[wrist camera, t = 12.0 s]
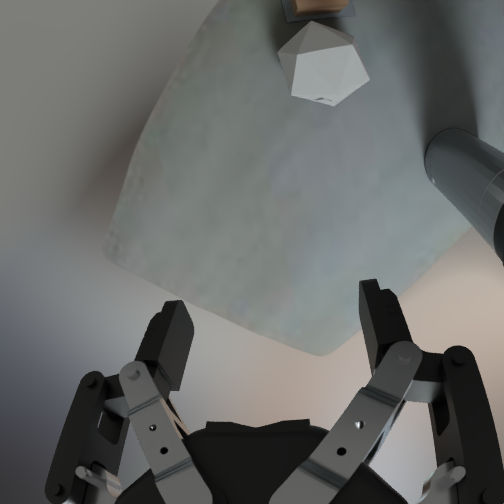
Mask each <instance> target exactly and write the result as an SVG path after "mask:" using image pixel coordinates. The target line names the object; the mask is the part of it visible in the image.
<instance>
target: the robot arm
mask: <svg viewBox="0 0 504 504" xmlns="http://www.w3.org/2000/svg"><path fill="white" fill-rule="evenodd" d="M425 168H426V172H427V176H428V177H429V179H430V181H431V182H432V183H433V184H434V186H435V187H436V188H437V189H438V190H439V191H440V192H441V193H442V194H443V195H444V196H445V197H446V198H447V199H448V200H449V201H450V202H451V203H452V204H453V205H454V206H455V207H456V208H457V209H458V210H459V211H460V212H461V213H462V215H463V216H464V217H465V218H466V219H467V220H468V221H469V222H470V223H471V225H472V226H473V227H474V228H475V229H476V230H477V231H478V232H479V234H480V235H481V236H482V237H483V238H484V239H485V241H486V242H487V243H488V244H489V245H490V246H491V248H492V249H493V250H494V251H495V253H496V254H497V255H498V257H499V258H500V259H501V260H502V262H503V266H504V153H503V152H501V151H499V150H498V149H496V148H494V147H493V146H491V145H489V144H487V143H486V142H484V141H482V140H480V139H479V138H477V137H475V136H473V135H471V134H469V133H467V132H465V131H463V130H461V129H457V128H450V129H447V130H444V131H442V132H440V133H439V134H438V135H436V136H435V137H434V139H433V140H432V141H431V143H430V145H429V147H428V149H427V152H426V156H425ZM359 315H360V321H361V326H362V330H363V334H364V339H365V344H366V348H367V352H368V358H369V363H370V368H371V373H372V378H371V379H370V381H369V383H368V384H367V385H366V387H362V388H361V389H360V390H359V391H358V393H357V394H356V395H355V397H354V398H353V400H352V401H351V403H350V404H349V406H348V407H347V409H346V410H345V411H344V413H343V414H342V415H341V417H340V418H339V419H338V421H337V422H336V423H335V425H334V426H333V428H332V429H331V430H330V431H328V430H326V429H324V428H321V427H317V426H311V425H310V419H303V420H288V421H280V422H277V423H273V424H269V425H265V426H262V427H256V428H255V427H250V426H245V425H241V424H237V423H233V422H209V421H208V422H207V423H206V428H204V429H201V430H198V431H195V432H193V433H190V432H189V430H188V429H187V427H186V426H185V424H184V422H183V421H182V419H181V417H180V416H179V414H178V412H177V410H176V408H175V406H174V404H173V403H172V401H171V399H170V398H169V393H170V391H179V389H180V385H181V381H182V377H183V373H184V370H185V366H186V362H187V358H188V355H189V351H190V347H191V343H192V340H193V336H194V326H193V322H192V320H191V318H190V315H189V313H188V311H187V309H186V307H185V305H184V302H183V301H182V300H175V301H166V302H165V304H164V306H163V308H162V311H161V312H159V313H156V315H155V316H154V317H153V318H152V319H151V320H150V323H149V325H148V327H147V331H146V332H145V335H144V338H143V340H142V342H141V345H140V347H139V350H138V352H137V355H136V358H135V360H134V361H133V362H130V363H128V364H127V365H125V366H124V367H123V368H122V369H121V371H120V374H117V375H113V376H109V377H104V376H103V374H101V372H98V371H92V372H89V373H88V374H86V375H85V376H84V377H83V378H82V380H81V381H80V384H79V386H78V389H77V392H76V394H75V397H74V400H73V402H72V405H71V407H70V410H69V413H68V416H67V418H66V421H65V424H64V427H63V430H62V433H61V436H60V439H59V442H58V445H57V448H56V451H55V455H54V458H53V461H52V464H51V467H50V471H49V474H48V478H47V482H46V485H45V494H46V497H47V499H48V500H49V501H50V502H51V503H52V504H408V502H407V501H406V500H405V499H404V498H403V497H402V496H401V495H400V494H399V493H397V491H395V490H394V489H393V488H392V487H391V486H390V485H389V484H388V483H386V482H385V481H384V480H383V479H382V478H381V477H380V476H379V475H378V474H377V473H376V472H375V471H374V470H372V469H371V468H370V467H369V464H370V463H371V461H372V460H373V458H374V457H375V455H376V454H377V452H378V451H379V449H380V447H381V446H382V444H383V442H384V441H385V439H386V437H387V435H388V433H389V431H390V430H391V428H392V426H393V425H394V423H395V421H396V419H397V418H398V416H399V414H400V412H401V411H402V409H403V407H404V405H405V403H406V401H413V402H423V403H428V407H429V413H430V419H431V425H432V431H433V438H434V445H435V453H436V461H437V469H436V470H435V471H434V472H433V473H432V474H431V475H430V476H429V477H428V478H427V479H426V480H425V482H424V485H423V491H422V496H421V498H420V500H419V501H418V502H417V503H416V504H503V503H504V469H503V464H502V458H501V452H500V447H499V442H498V438H497V433H496V429H495V425H494V421H493V416H492V413H491V409H490V405H489V402H488V398H487V395H486V391H485V388H484V385H483V382H482V378H481V375H480V372H479V369H478V366H477V363H476V360H475V357H474V355H473V353H472V352H471V351H470V350H469V349H468V348H466V347H463V346H452V347H450V348H448V349H447V350H446V351H445V352H444V354H440V353H429V352H425V351H423V350H421V349H420V348H419V347H418V346H417V345H416V344H414V343H413V340H412V338H411V335H410V332H409V329H408V326H407V323H406V321H405V318H404V315H403V313H402V310H401V307H400V304H399V302H398V299H397V296H396V295H395V294H394V293H393V292H392V291H391V290H390V289H383V290H380V287H379V284H378V282H377V279H369V280H362V281H360V282H359ZM101 412H102V413H103V414H102V418H101V421H100V424H99V428H97V426H98V422H99V419H100V416H101ZM130 422H131V424H132V427H133V429H134V431H135V434H136V436H137V439H138V440H139V443H140V446H141V448H142V450H143V452H144V455H145V457H146V459H147V461H148V463H149V465H150V469H149V470H148V471H147V472H145V473H144V474H143V475H142V476H141V477H140V478H139V479H137V480H136V481H135V482H134V483H133V484H131V485H130V486H129V487H128V488H127V489H125V490H124V491H123V490H122V489H121V483H120V481H119V479H118V478H117V474H118V469H119V465H120V461H121V456H122V452H123V448H124V444H125V439H126V435H127V431H128V427H129V423H130Z"/></svg>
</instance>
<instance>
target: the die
mask: <svg viewBox="0 0 504 504" xmlns="http://www.w3.org/2000/svg"><path fill="white" fill-rule="evenodd" d="M277 53H278V56H279V59H280V62H281V65H282V68H283V71H284V75H285V78H286V81H287V84H288V87H289V90H290V94H291V95H292V96H296V97H301V98H305V99H309V100H313V101H317V102H320V103H324V104H328V105H331V106H335V105H336V104H338V103H339V102H340V101H342V100H343V99H344V98H346V97H347V96H348V95H350V94H351V93H352V92H354V91H355V90H357V89H358V88H359V87H361V86H362V85H363V84H365V83H366V82H368V81H369V80H370V78H369V75H368V72H367V69H366V67H365V64H364V61H363V58H362V56H361V53H360V50H359V48H358V45H357V43H356V40H355V38H354V37H353V36H351V35H348V34H346V33H343V32H341V31H338V30H336V29H333V28H330V27H328V26H325V25H322V24H320V23H317V22H314V21H310V22H309V23H308V24H307V25H306V26H305V27H303V28H302V29H301V30H300V31H299V32H298V33H297V34H296V35H295V36H293V37H292V38H291V39H290V40H289V41H288V42H287V43H286V44H285V45H284V46H283V47H282V48H281V49H280V50H279V51H278V52H277Z"/></svg>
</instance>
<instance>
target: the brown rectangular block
mask: <svg viewBox="0 0 504 504" xmlns="http://www.w3.org/2000/svg"><path fill="white" fill-rule="evenodd" d="M290 1H291V4H292V8H293V12H294V16H295V17H298V16H306V15H316V14H327V13H338V12H339V11H341V10H342V9H343V8H345V7H346V6H347V5H348V4H349V2H348V0H290Z"/></svg>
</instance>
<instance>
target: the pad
mask: <svg viewBox="0 0 504 504" xmlns="http://www.w3.org/2000/svg"><path fill="white" fill-rule="evenodd" d="M281 1H282V5H283V9H284V13H285V17H286V21H287V23H288V22H295V21H303V20H311V19H321V18H333V17H349V16H356V14H355V10H354V6H353V2H352V0H348V2H349V4H348V5H347V6H346V7H345V8H343V9H342V10H341V11H339V12H338V13H327V14H316V15H306V16H298V17H295V16H294V12H293V8H292V4H291V1H290V0H281Z"/></svg>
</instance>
